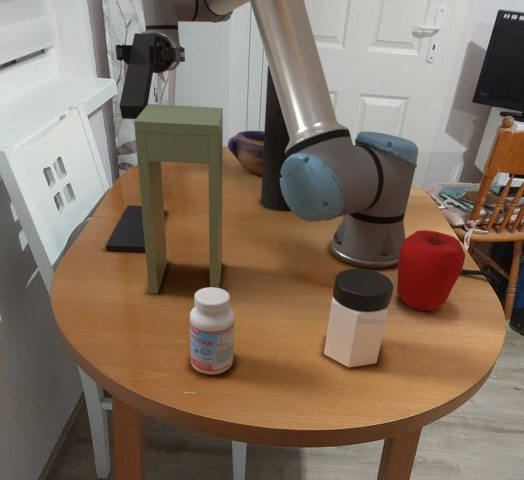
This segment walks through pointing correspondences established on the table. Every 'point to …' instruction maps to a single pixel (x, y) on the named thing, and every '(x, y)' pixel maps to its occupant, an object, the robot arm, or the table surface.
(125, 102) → the black rectangular bar
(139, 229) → the base pad
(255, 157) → the bowl
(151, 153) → the stand
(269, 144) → the vase
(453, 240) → the apple
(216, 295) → the pill bottle
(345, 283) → the jar
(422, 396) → the table surface
